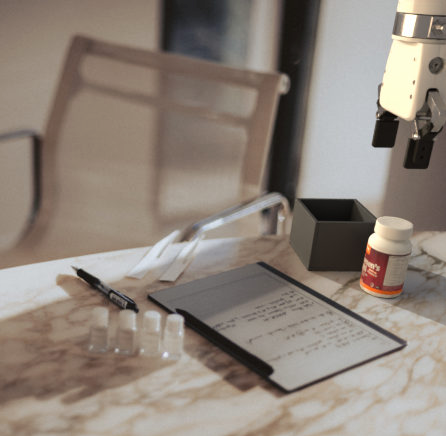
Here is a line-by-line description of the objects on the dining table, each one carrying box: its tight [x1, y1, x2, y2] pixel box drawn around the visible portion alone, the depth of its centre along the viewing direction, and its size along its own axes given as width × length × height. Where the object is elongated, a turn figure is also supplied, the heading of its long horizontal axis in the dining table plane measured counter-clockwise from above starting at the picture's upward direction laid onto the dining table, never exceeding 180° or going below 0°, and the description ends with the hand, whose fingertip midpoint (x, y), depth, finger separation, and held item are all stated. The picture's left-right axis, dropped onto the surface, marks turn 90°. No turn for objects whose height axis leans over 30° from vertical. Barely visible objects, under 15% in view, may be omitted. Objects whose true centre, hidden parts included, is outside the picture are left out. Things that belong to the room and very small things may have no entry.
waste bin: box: [288, 197, 378, 272], centre depth 105 cm, size 11×11×9 cm
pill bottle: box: [359, 215, 415, 299], centre depth 94 cm, size 6×6×11 cm
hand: (397, 157), depth 86 cm, fingers open, 9 cm apart
